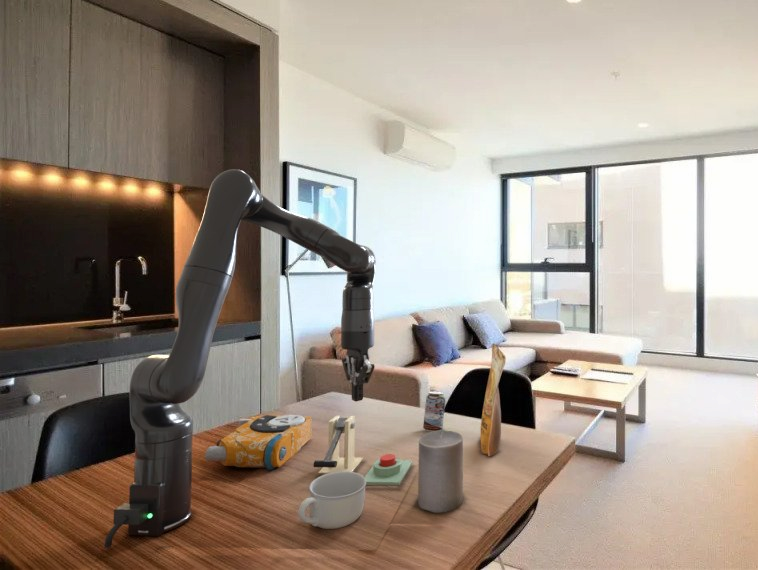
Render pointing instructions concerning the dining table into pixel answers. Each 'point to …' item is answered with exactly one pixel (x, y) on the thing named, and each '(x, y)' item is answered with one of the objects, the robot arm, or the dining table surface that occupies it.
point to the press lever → (332, 446)
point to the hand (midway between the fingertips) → (357, 400)
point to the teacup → (334, 500)
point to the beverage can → (434, 411)
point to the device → (262, 441)
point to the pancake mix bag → (492, 406)
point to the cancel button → (387, 460)
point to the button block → (388, 473)
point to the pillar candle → (440, 471)
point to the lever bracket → (349, 459)
